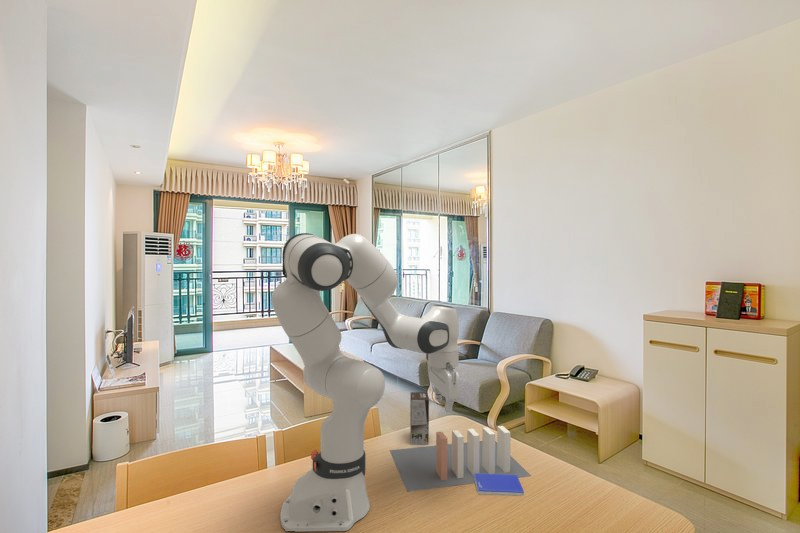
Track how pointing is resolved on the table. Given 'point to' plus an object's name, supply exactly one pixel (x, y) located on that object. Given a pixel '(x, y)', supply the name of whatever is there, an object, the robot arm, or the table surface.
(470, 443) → the domino
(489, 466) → the domino
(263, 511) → the table surface
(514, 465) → the mat
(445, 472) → the tile
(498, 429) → the domino
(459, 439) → the domino
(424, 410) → the coffee box
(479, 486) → the hard drive
